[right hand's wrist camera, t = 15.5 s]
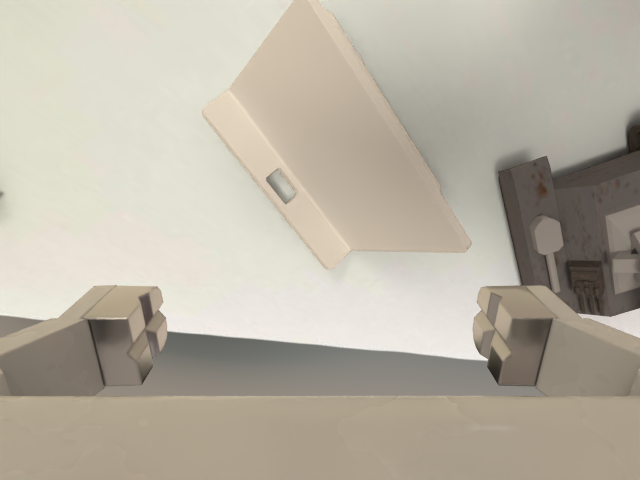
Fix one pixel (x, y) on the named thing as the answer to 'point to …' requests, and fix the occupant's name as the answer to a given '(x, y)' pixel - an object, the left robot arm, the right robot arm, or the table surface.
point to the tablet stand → (331, 145)
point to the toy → (579, 230)
